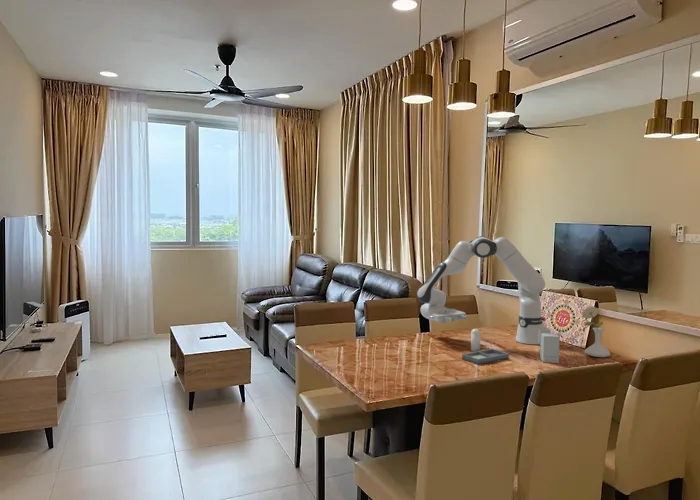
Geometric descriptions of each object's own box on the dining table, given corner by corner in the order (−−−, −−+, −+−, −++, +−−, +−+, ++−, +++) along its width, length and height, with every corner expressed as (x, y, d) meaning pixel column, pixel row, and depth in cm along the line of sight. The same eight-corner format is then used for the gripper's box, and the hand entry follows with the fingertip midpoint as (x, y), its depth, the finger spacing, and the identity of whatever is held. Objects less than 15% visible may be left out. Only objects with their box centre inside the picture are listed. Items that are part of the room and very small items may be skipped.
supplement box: (559, 363, 226) (560, 336, 225) (542, 362, 227) (543, 336, 227) (555, 358, 233) (556, 333, 232) (539, 357, 235) (540, 332, 234)
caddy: (492, 353, 242) (492, 348, 242) (508, 358, 233) (508, 353, 233) (462, 359, 232) (462, 354, 232) (478, 364, 223) (478, 359, 223)
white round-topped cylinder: (475, 348, 252) (475, 327, 251) (482, 350, 247) (482, 329, 247) (468, 350, 249) (469, 328, 249) (475, 352, 245) (475, 330, 244)
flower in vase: (608, 354, 242) (609, 305, 240) (612, 360, 231) (613, 308, 230) (579, 351, 246) (580, 303, 245) (582, 357, 235) (583, 307, 234)
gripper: (427, 310, 265) (444, 315, 253) (455, 308, 275) (472, 312, 263) (427, 322, 265) (443, 326, 253) (455, 318, 275) (472, 323, 263)
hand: (458, 319), depth 258 cm, fingers open, 8 cm apart
